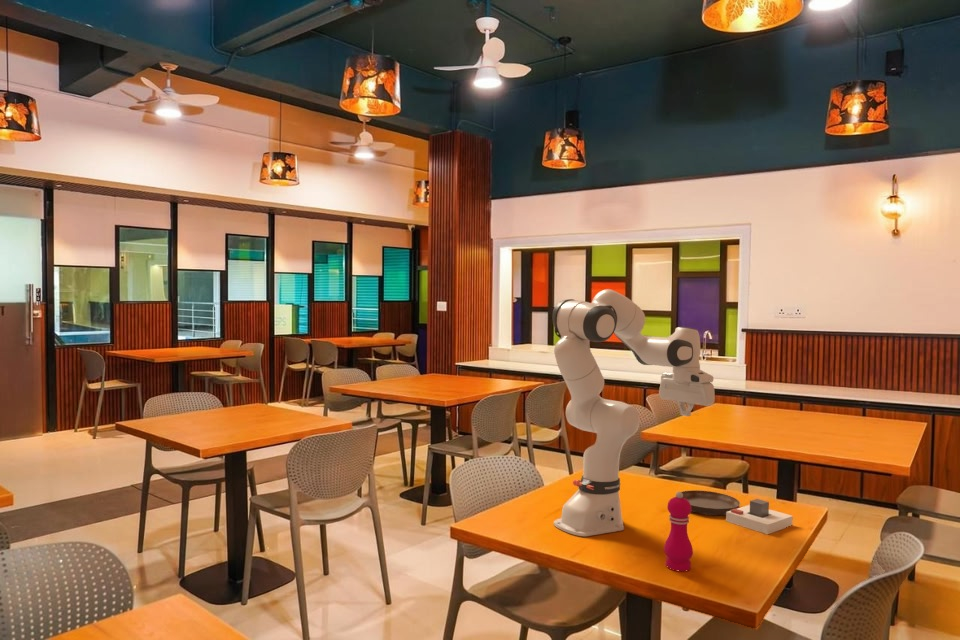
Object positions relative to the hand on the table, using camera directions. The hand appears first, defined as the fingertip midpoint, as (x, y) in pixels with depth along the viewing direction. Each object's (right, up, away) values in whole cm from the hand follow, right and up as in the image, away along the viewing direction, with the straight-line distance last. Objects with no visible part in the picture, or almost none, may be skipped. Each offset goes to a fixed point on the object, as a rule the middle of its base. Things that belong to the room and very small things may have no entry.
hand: (685, 415), depth 219 cm
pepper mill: (-17, -33, -49) cm, 62 cm away
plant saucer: (+8, -32, 0) cm, 33 cm away
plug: (+18, -32, -15) cm, 40 cm away
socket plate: (+18, -32, -15) cm, 40 cm away
